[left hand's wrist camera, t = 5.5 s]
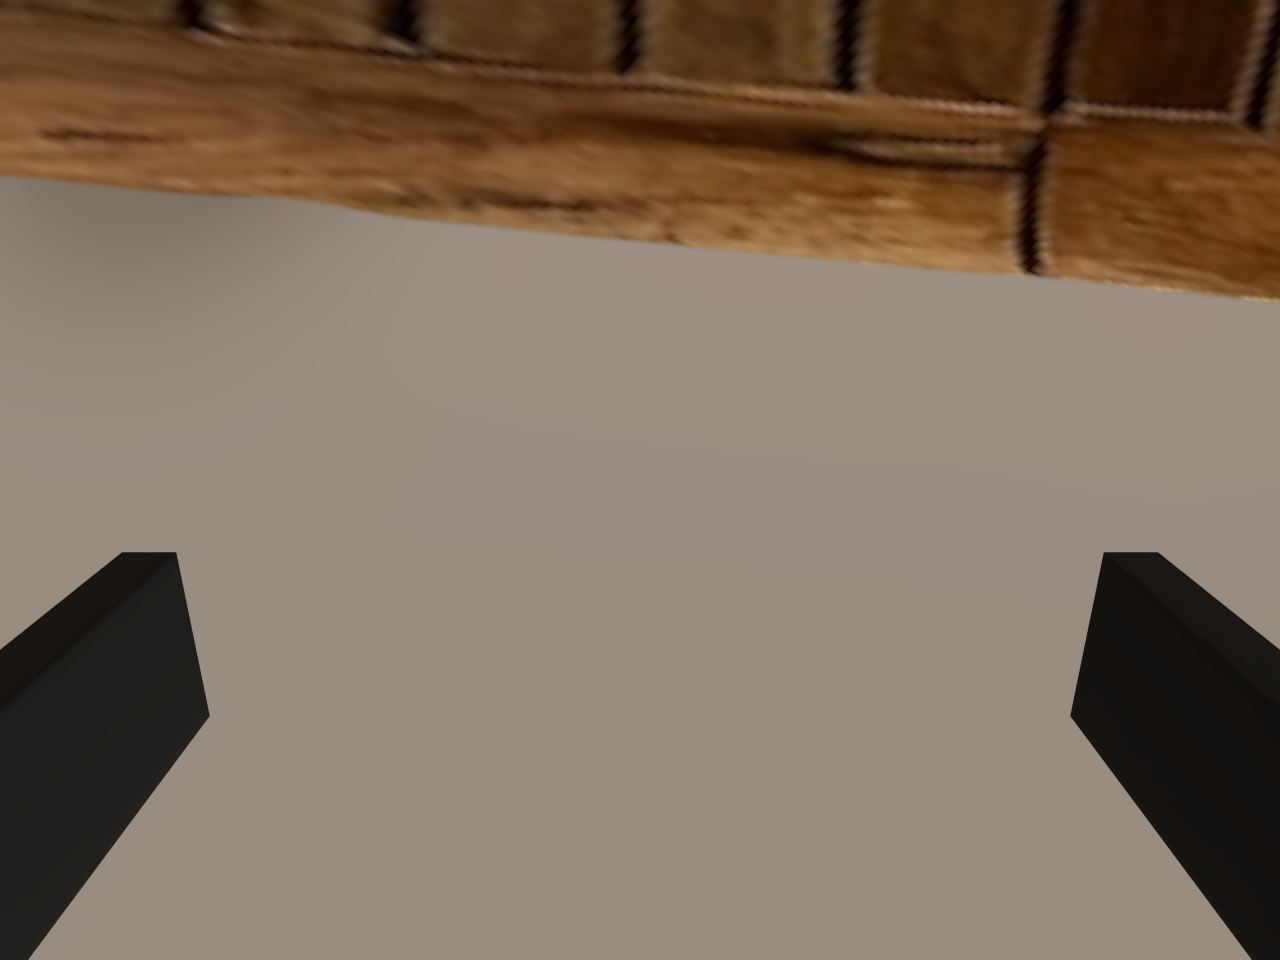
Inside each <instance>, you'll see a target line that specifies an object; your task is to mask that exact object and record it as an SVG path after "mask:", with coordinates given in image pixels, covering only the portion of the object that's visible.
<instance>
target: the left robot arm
mask: <svg viewBox="0 0 1280 960" xmlns="http://www.w3.org/2000/svg"><path fill="white" fill-rule="evenodd" d="M209 716H210V715H209V710H208V705H207V700H206V696H205V691H204V686H203V681H202V676H201V671H200V666H199V662H198V656H197V652H196V647H195V642H194V637H193V632H192V627H191V622H190V617H189V613H188V608H187V603H186V598H185V593H184V588H183V583H182V578H181V573H180V569H179V564H178V559H177V554H176V552H122V553H121V554H119V555H118V556H117V557H116V558H114V559H113V560H112V561H111V562H109V563H108V564H107V565H106V566H104V567H103V568H102V569H101V570H99V571H98V572H97V573H96V574H94V575H93V576H92V577H91V578H89V579H88V580H87V581H86V582H84V583H83V584H82V585H81V586H79V587H78V588H77V589H76V590H74V591H73V592H72V593H71V594H69V595H68V596H67V597H66V598H64V599H63V600H62V601H61V602H59V603H58V604H57V605H56V606H54V607H53V608H52V609H51V610H49V611H48V612H47V613H46V614H44V615H43V616H42V617H41V618H39V619H38V620H37V621H36V622H34V623H33V624H32V625H31V626H29V627H28V628H27V629H26V630H24V631H23V632H22V633H21V634H19V635H18V636H17V637H16V638H14V639H13V640H12V641H11V642H9V643H8V644H7V645H6V646H4V647H3V648H2V649H1V650H0V960H28V959H29V958H30V957H31V955H32V954H33V952H34V951H35V950H36V948H37V947H38V946H39V944H40V943H41V942H42V940H43V939H44V938H45V936H46V935H47V934H48V932H49V931H50V930H51V928H52V927H53V926H54V924H55V923H56V922H57V920H58V919H59V918H60V916H61V915H62V913H63V912H64V911H65V909H66V908H67V907H68V906H69V904H70V903H71V901H72V900H73V899H74V897H75V896H76V895H77V893H78V892H79V891H80V889H81V888H82V887H83V885H84V884H85V883H86V881H87V880H88V879H89V877H90V876H91V875H92V873H93V872H94V871H95V869H96V868H97V867H98V865H99V864H100V863H101V861H102V860H103V858H104V857H105V856H106V854H107V853H108V852H109V850H110V849H111V848H112V846H113V845H114V844H115V842H116V841H117V840H118V838H119V837H120V836H121V834H122V833H123V832H124V830H125V829H126V828H127V826H128V825H129V824H130V822H131V821H132V820H133V818H134V817H135V815H136V814H137V813H138V812H139V810H140V809H141V807H142V806H143V805H144V803H145V802H146V801H147V799H148V798H149V797H150V795H151V794H152V793H153V791H154V790H155V789H156V787H157V786H158V785H159V783H160V782H161V781H162V779H163V778H164V777H165V775H166V774H167V772H168V771H169V770H170V769H171V767H172V766H173V764H174V763H175V762H176V761H177V759H178V758H179V756H180V755H181V754H182V752H183V751H184V750H185V748H186V747H187V746H188V744H189V743H190V742H191V740H192V739H193V738H194V736H195V735H196V734H197V732H198V731H199V730H200V728H201V727H202V726H203V724H204V723H205V722H206V720H207V719H208V718H209ZM1070 716H1071V718H1072V719H1073V720H1074V722H1075V723H1076V724H1077V726H1078V727H1079V728H1080V730H1081V731H1082V732H1083V734H1084V735H1085V736H1086V738H1087V739H1088V740H1089V742H1090V743H1091V744H1092V746H1093V747H1094V748H1095V750H1096V751H1097V752H1098V754H1099V755H1100V756H1101V758H1102V759H1103V760H1104V762H1105V763H1106V764H1107V766H1108V767H1109V769H1110V770H1111V771H1112V772H1113V774H1114V775H1115V777H1116V778H1117V779H1118V781H1119V782H1120V783H1121V785H1122V786H1123V787H1124V789H1125V790H1126V791H1127V793H1128V794H1129V795H1130V797H1131V798H1132V799H1133V801H1134V802H1135V803H1136V805H1137V806H1138V807H1139V809H1140V810H1141V812H1142V813H1143V814H1144V815H1145V817H1146V818H1147V819H1148V821H1149V822H1150V824H1151V825H1152V826H1153V828H1154V829H1155V830H1156V832H1157V833H1158V834H1159V836H1160V837H1161V838H1162V840H1163V841H1164V842H1165V844H1166V845H1167V846H1168V848H1169V849H1170V850H1171V852H1172V853H1173V855H1174V856H1175V857H1176V859H1177V860H1178V861H1179V863H1180V864H1181V865H1182V867H1183V868H1184V869H1185V871H1186V872H1187V873H1188V875H1189V876H1190V877H1191V879H1192V880H1193V881H1194V883H1195V884H1196V885H1197V887H1198V888H1199V889H1200V891H1201V892H1202V893H1203V895H1204V896H1205V897H1206V899H1207V900H1208V901H1209V903H1210V904H1211V906H1212V907H1213V908H1214V910H1215V911H1216V912H1217V914H1218V915H1219V916H1220V918H1221V919H1222V920H1223V922H1224V923H1225V924H1226V926H1227V927H1228V928H1229V930H1230V931H1231V932H1232V934H1233V935H1234V936H1235V938H1236V939H1237V940H1238V942H1239V943H1240V944H1241V946H1242V947H1243V948H1244V950H1245V951H1246V953H1247V954H1248V955H1249V957H1250V958H1251V959H1252V960H1280V650H1279V649H1278V648H1277V647H1276V646H1274V645H1273V644H1272V643H1271V642H1269V641H1268V640H1267V639H1266V638H1264V637H1263V636H1262V635H1261V634H1259V633H1258V632H1257V631H1256V630H1254V629H1253V628H1252V627H1251V626H1249V625H1248V624H1247V623H1246V622H1244V621H1243V620H1242V619H1241V618H1239V617H1238V616H1237V615H1236V614H1234V613H1233V612H1232V611H1231V610H1229V609H1228V608H1227V607H1226V606H1224V605H1223V604H1222V603H1221V602H1219V601H1218V600H1217V599H1216V598H1214V597H1213V596H1212V595H1211V594H1209V593H1208V592H1207V591H1206V590H1204V589H1203V588H1202V587H1201V586H1199V585H1198V584H1197V583H1196V582H1194V581H1193V580H1192V579H1191V578H1189V577H1188V576H1187V575H1186V574H1184V573H1183V572H1182V571H1181V570H1179V569H1178V568H1177V567H1176V566H1174V565H1173V564H1172V563H1171V562H1169V561H1168V560H1167V559H1166V558H1164V557H1163V556H1162V555H1161V554H1159V553H1158V552H1104V554H1103V559H1102V564H1101V569H1100V574H1099V578H1098V584H1097V588H1096V593H1095V598H1094V603H1093V608H1092V613H1091V617H1090V622H1089V627H1088V632H1087V637H1086V642H1085V647H1084V652H1083V656H1082V661H1081V666H1080V671H1079V676H1078V681H1077V686H1076V691H1075V695H1074V700H1073V705H1072V710H1071V715H1070Z"/></svg>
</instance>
